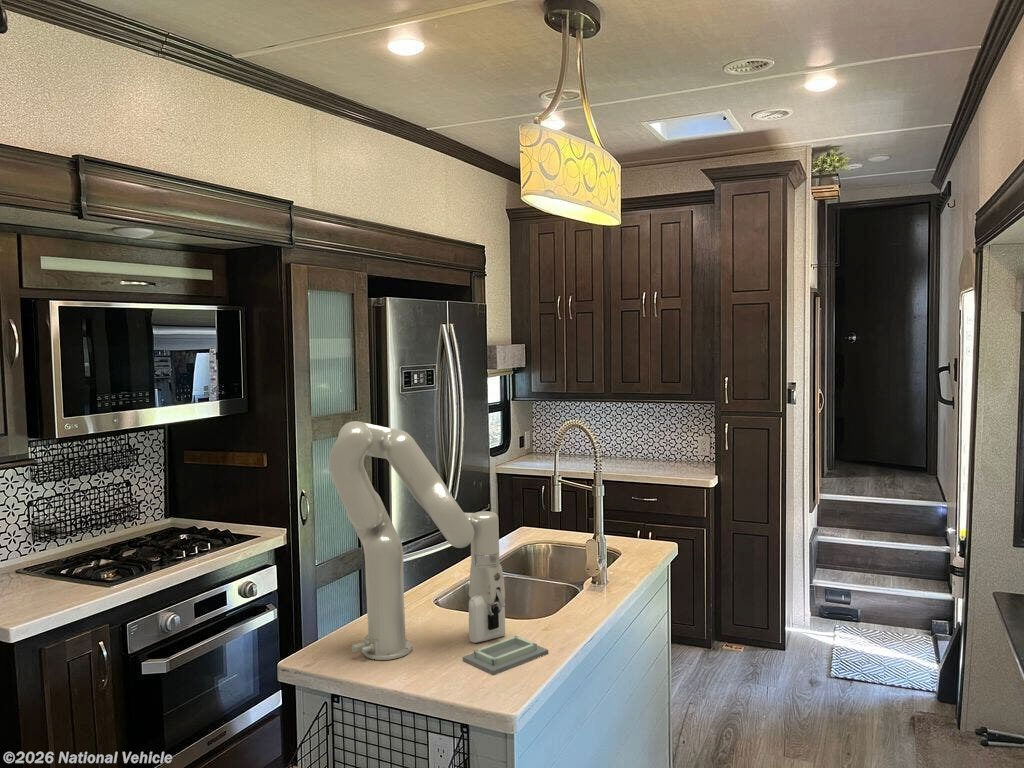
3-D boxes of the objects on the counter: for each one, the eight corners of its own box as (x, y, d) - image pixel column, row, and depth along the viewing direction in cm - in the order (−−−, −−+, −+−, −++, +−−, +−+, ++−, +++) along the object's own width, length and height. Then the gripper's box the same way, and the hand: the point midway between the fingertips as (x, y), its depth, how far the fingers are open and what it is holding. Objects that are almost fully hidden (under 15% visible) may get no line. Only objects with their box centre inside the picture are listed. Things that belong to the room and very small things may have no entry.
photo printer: (499, 631, 214) (498, 586, 213) (508, 636, 210) (506, 590, 210) (466, 640, 208) (465, 594, 208) (475, 644, 205) (473, 598, 204)
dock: (493, 675, 186) (492, 664, 186) (462, 660, 195) (462, 650, 195) (548, 653, 198) (548, 643, 197) (517, 641, 207) (516, 631, 207)
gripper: (516, 562, 204) (518, 630, 205) (476, 550, 217) (478, 615, 218) (494, 567, 199) (496, 638, 200) (455, 555, 212) (456, 621, 213)
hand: (487, 625), depth 209 cm, fingers closed on photo printer, 4 cm apart
